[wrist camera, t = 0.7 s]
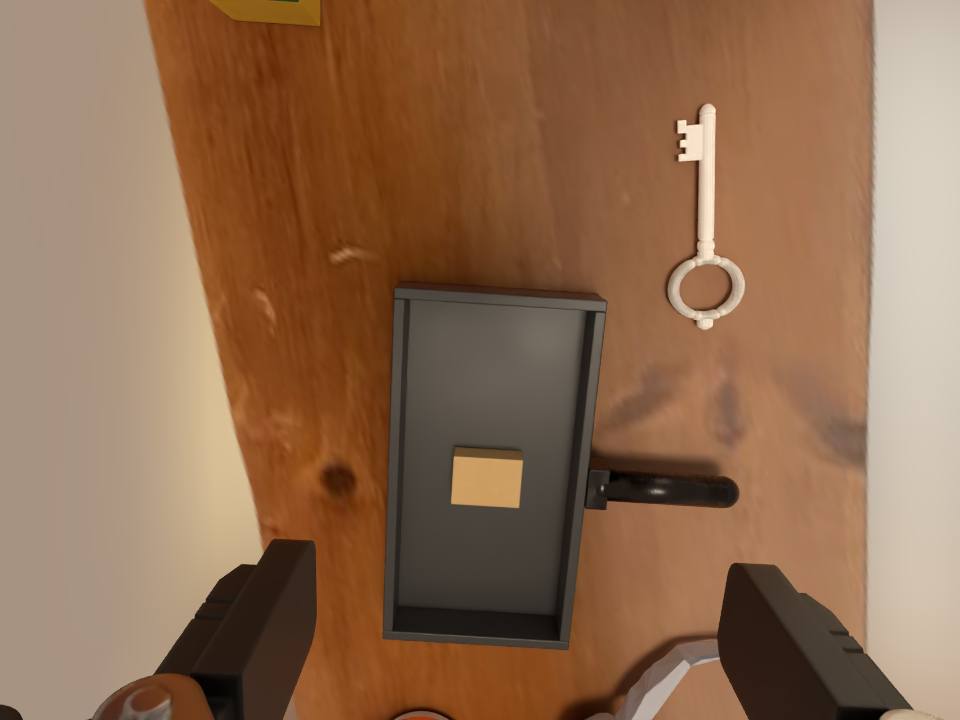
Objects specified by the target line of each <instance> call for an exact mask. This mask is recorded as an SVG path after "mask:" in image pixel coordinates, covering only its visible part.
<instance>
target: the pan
mask: <svg viewBox="0 0 960 720" xmlns="http://www.w3.org/2000/svg"><path fill="white" fill-rule="evenodd" d="M606 310H607V301H606V300H605V299H603V298H602V297H601V296H599V295H598V294H594V293H578V292H563V291H548V290H532V289H517V288H502V287H487V286H471V285H456V284H441V283H425V282H410V281H401V282H400V283H399V284H398V285H397V286H396V287H395V288H394V307H393V337H392V368H391V398H390V428H389V458H388V489H387V519H386V549H385V579H384V610H383V639H390V640H406V641H423V642H440V643H457V644H474V645H491V646H508V647H524V648H541V649H558V650H568V647H569V638H570V630H571V621H572V612H573V603H574V594H575V585H576V576H577V567H578V559H579V550H580V541H581V532H582V523H583V514H584V505H585V497H586V488H587V479H588V470H589V461H590V452H591V443H592V435H593V426H594V417H595V408H596V399H597V390H598V381H599V372H600V364H601V355H602V346H603V337H604V328H605V319H606ZM455 447H463V448H479V449H495V450H511V451H521V452H522V457H523V468H522V480H521V491H520V503H519V508H510V507H494V506H477V505H461V504H451V493H452V476H453V459H454V449H455Z"/></svg>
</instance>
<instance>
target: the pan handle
mask: <svg viewBox="0 0 960 720" xmlns="http://www.w3.org/2000/svg"><path fill="white" fill-rule="evenodd" d="M738 498H739V489H738V486H737V484H736V483H735V482H734V481H733V480H732V479H730V478H728V477H725V476H712V475H696V474H680V473H664V472H648V471H632V470H616V469H609V467H608V465H607V463H606V461H605V459H604V458H601V457H590V461H589V470H588V479H587V488H586V497H585V505H584V506H585V508H586V509H598V510H606V506H607V501H615V502H631V503H647V504H664V505H680V506H696V507H712V508H728V507H731V506H733V505H734V504H735V503H736V502H737V500H738Z"/></svg>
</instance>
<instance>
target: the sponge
mask: <svg viewBox="0 0 960 720" xmlns="http://www.w3.org/2000/svg"><path fill="white" fill-rule="evenodd" d="M208 1H210V2H211V3H212V4H214V5H215V6H216V7H218V8H219V9H220V10H222V11H223V12H224V13H225V14H227V15H228V16H229V17H231V18H232V19H233V20H238V21H252V22H266V23H281V24H295V25H309V26H320V0H208Z"/></svg>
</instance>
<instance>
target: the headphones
mask: <svg viewBox="0 0 960 720" xmlns="http://www.w3.org/2000/svg"><path fill="white" fill-rule="evenodd" d="M717 659H720V657H719V652H718V641H710V642H692V643H684V644H681V645H678V646H675V648H674V649H672V650H671V651H670V652H669V653H668V654H667V655H666V656H664V657H663V658H662V659H660V660H658V661H657V662H655V663H653V665H652V666H651V667H650V668H649V669H647V670H646V671H645V672H644V674H643V675H642V676H641V678H640V679H639V681H638V682H637V683H636V684H634V685H633V686H632V687H631V688H630V690H629V692H628V694H627V696H626V698H625V700H624V702H623V704H622V706H621V708H620V709H619V710H618V712H617V713H616V717H615V716H613V715H611V714H609V713H597V714H595V715H593V716H591V717H589V718H587V719H585V720H652V719H653V717H654V716H655V715H656V713H657V712H658V710H659V709H660V708H661V706H662V705H663V704H664V702H665V701H666V700H667V698H668V697H669V695H670V694H671V693H672V691H673V690H674V689H675V687H676V686H677V685H678V683H679V682H680V680H681V679H682V678H683V676H684V675H685V674H686V672H687V671H688V670H689V668H690V667H691V666H694V665H698V664H702V663H706V662H709V661H713V660H717Z"/></svg>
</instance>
